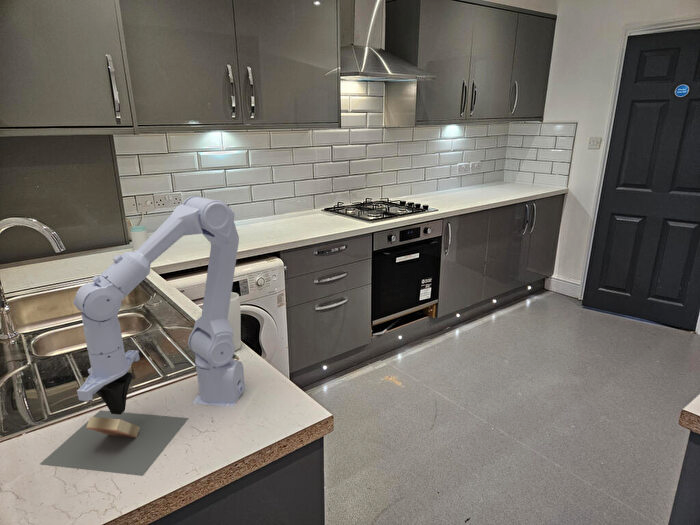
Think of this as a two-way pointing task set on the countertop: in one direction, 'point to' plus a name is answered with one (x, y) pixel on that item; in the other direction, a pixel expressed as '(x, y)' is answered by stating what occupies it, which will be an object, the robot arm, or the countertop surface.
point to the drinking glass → (235, 319)
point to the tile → (113, 427)
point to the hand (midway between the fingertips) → (118, 412)
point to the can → (138, 236)
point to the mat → (117, 445)
